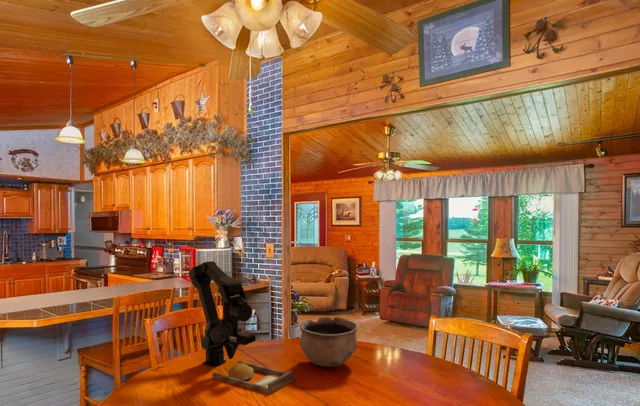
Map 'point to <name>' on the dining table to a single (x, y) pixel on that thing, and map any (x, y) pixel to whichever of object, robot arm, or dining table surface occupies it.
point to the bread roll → (241, 371)
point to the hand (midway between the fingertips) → (230, 358)
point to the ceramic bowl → (328, 340)
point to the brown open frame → (264, 385)
